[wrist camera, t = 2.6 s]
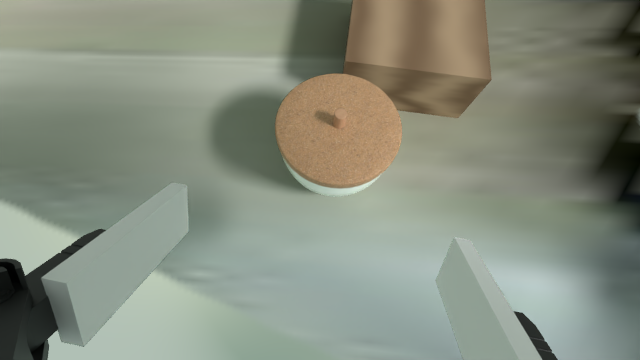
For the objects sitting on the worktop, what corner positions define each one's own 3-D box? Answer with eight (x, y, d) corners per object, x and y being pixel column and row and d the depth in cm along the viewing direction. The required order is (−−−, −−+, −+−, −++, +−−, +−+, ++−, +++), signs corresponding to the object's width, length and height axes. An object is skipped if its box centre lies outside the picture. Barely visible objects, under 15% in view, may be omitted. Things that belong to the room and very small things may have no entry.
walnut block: (453, 29, 39) (482, -23, 33) (456, 119, 34) (491, 79, 28) (349, 16, 40) (358, -38, 33) (338, 103, 35) (345, 61, 28)
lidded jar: (266, 142, 32) (250, 87, 24) (350, 105, 34) (364, 42, 26) (310, 227, 29) (311, 202, 20) (400, 181, 31) (435, 140, 22)
